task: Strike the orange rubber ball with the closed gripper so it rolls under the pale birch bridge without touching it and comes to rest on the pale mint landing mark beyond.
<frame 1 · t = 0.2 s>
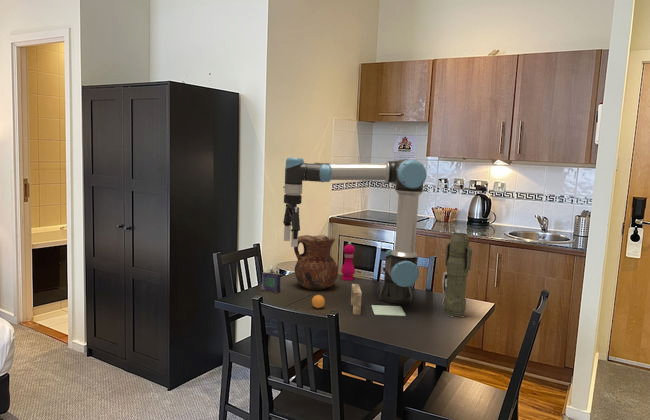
hand: (290, 243, 223), 26 cm above the table, tool pointing down, fingers open, 13 cm apart
pepper mill: (347, 279, 276), on the table
bridge: (355, 309, 223), on the table
beer glass: (448, 306, 235), on the table
ball: (318, 301, 222), on the table
jug: (315, 287, 257), on the table
landing mark: (388, 310, 223), on the table
olive brown statue: (454, 315, 222), on the table
flask: (270, 291, 245), on the table
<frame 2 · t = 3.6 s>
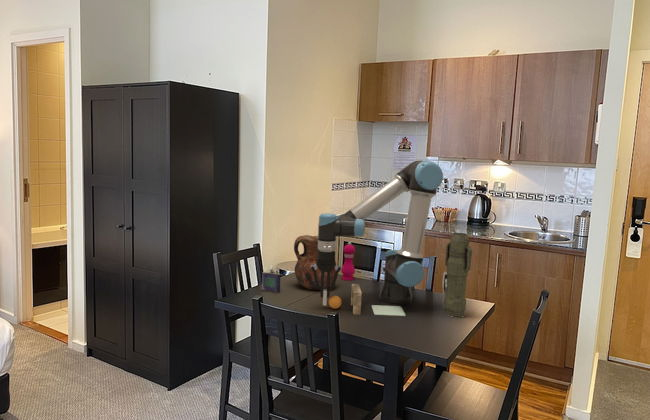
hand: (324, 304, 223), 1 cm above the table, tool pointing down, fingers closed
ball: (334, 302, 222), on the table
everything else where it was.
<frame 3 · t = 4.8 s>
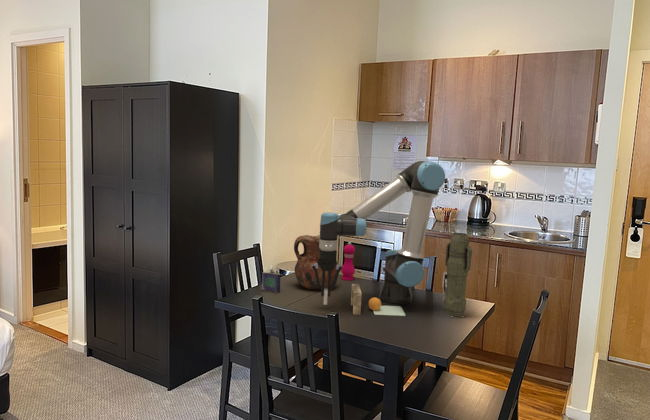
hand: (325, 303, 222), 2 cm above the table, tool pointing down, fingers closed
ball: (374, 303, 223), on the table
everything else where it was.
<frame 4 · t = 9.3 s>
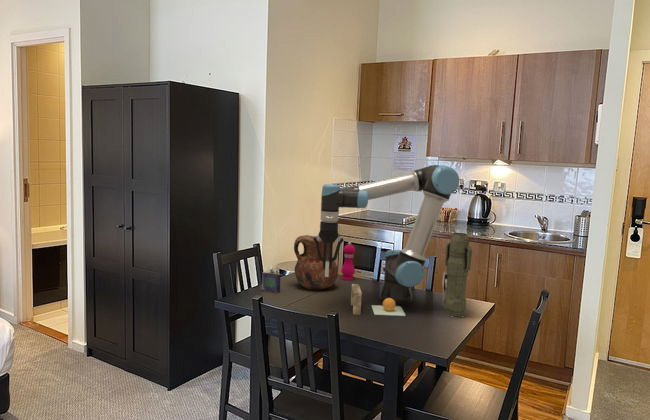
hand: (326, 276, 221), 14 cm above the table, tool pointing down, fingers closed
ball: (389, 304, 223), on the table
everything else where it was.
at the end: ball 0.3 cm from the landing mark (horizontally); ball never touched bridge; ball at rest at the end (0.0 cm/s) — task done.
